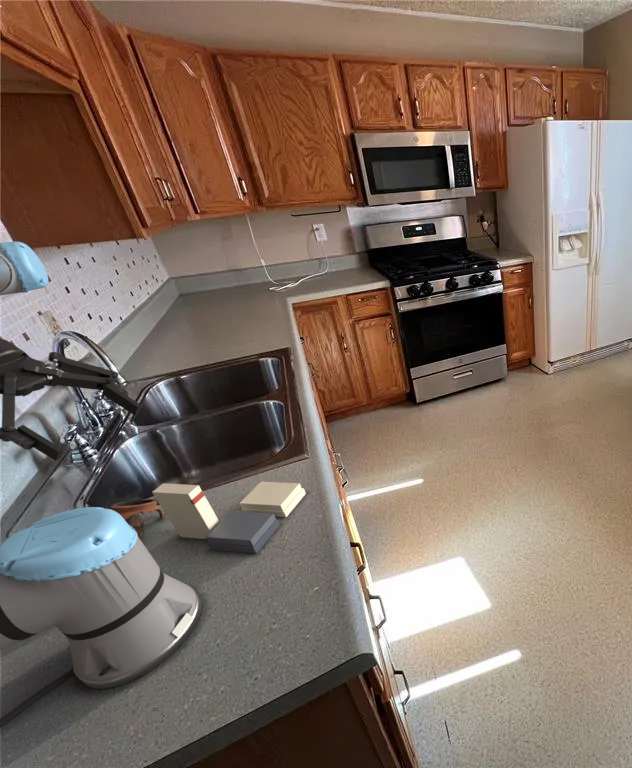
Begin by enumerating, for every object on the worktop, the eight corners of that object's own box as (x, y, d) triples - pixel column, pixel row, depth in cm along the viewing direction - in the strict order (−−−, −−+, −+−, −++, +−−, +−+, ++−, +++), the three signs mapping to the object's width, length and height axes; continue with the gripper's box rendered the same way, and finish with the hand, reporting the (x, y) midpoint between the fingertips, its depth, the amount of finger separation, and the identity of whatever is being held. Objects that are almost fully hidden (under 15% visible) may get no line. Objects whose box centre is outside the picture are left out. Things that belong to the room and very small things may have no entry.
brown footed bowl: (96, 545, 83) (98, 503, 84) (157, 533, 91) (158, 495, 91) (107, 558, 76) (109, 513, 76) (172, 544, 83) (173, 503, 84)
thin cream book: (215, 540, 82) (188, 494, 76) (180, 537, 83) (151, 492, 77) (224, 530, 84) (199, 485, 78) (190, 527, 85) (163, 483, 79)
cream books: (286, 517, 85) (281, 506, 84) (244, 514, 87) (238, 503, 86) (305, 493, 92) (301, 482, 90) (266, 491, 93) (260, 480, 92)
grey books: (256, 553, 78) (250, 541, 76) (210, 549, 79) (203, 538, 78) (280, 524, 84) (274, 513, 82) (237, 521, 85) (230, 510, 84)
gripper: (59, 339, 81) (159, 406, 86) (-132, 406, 60) (15, 490, 64) (64, 313, 78) (168, 384, 82) (-136, 374, 56) (20, 465, 61)
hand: (102, 431), depth 73 cm, fingers open, 13 cm apart
